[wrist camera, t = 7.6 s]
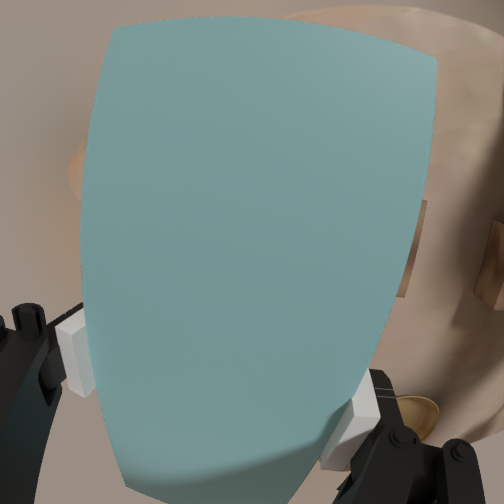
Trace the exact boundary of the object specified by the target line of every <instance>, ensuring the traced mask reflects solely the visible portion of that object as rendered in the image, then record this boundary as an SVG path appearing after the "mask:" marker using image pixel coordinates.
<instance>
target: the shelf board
mask: <svg viewBox="0 0 504 504" xmlns="http://www.w3.org/2000/svg"><path fill="white" fill-rule="evenodd" d="M436 78H437V58H435V57H432V56H430V55H427V54H425V53H422V52H420V51H417V50H414V49H412V48H409V47H406V46H403V45H400V44H397V43H394V42H391V41H388V40H384V39H381V38H378V37H374V36H370V35H367V34H363V33H359V32H355V31H350V30H346V29H341V28H336V27H331V26H326V25H320V24H314V23H308V22H301V21H293V20H284V19H273V18H256V17H198V18H183V19H172V20H163V21H155V22H148V23H142V24H136V25H130V26H125V27H120V28H115V29H114V30H113V33H112V36H111V39H110V42H109V45H108V49H107V52H106V55H105V59H104V63H103V66H102V70H101V74H100V78H99V82H98V86H97V91H96V95H95V100H94V105H93V110H92V115H91V121H90V127H89V133H88V140H87V147H86V155H85V163H84V173H83V185H82V199H81V226H80V252H81V278H82V279H81V280H82V295H83V306H84V316H85V325H86V332H87V340H88V346H89V353H90V359H91V364H92V370H93V375H94V380H95V385H96V389H97V394H98V398H99V402H100V407H101V411H102V414H103V418H104V422H105V425H106V429H107V432H108V436H109V439H110V442H111V445H112V448H113V452H114V455H115V457H116V460H117V463H118V466H119V468H120V471H121V474H122V476H123V479H124V482H125V484H126V487H129V488H131V489H133V490H135V491H138V492H140V493H142V494H145V495H147V496H150V497H152V498H154V499H157V500H160V501H162V502H165V503H168V504H287V503H288V502H289V500H290V499H291V498H292V496H293V495H294V494H295V492H296V491H297V489H298V488H299V487H300V485H301V484H302V482H303V481H304V480H305V478H306V477H307V475H308V474H309V472H310V471H311V469H312V468H313V466H314V465H315V463H316V461H317V460H318V458H319V457H320V455H321V452H322V450H323V449H324V447H325V445H326V444H327V442H328V440H329V438H330V437H331V435H332V433H333V432H334V430H335V428H336V426H337V424H338V423H339V421H340V419H341V417H342V415H343V413H344V412H345V410H346V408H347V406H348V404H349V402H350V400H351V398H352V397H354V395H355V393H356V391H357V389H358V387H359V385H360V383H361V381H362V378H363V376H364V374H365V372H366V370H367V368H368V365H369V363H370V361H371V359H372V356H373V354H374V352H375V349H376V347H377V345H378V342H379V340H380V337H381V335H382V332H383V330H384V327H385V325H386V322H387V319H388V317H389V314H390V311H391V309H392V306H393V303H394V300H395V297H396V294H397V291H398V288H399V285H400V282H401V279H402V276H403V273H404V269H405V266H406V263H407V259H408V256H409V252H410V249H411V245H412V241H413V237H414V233H415V229H416V225H417V221H418V217H419V212H420V208H421V203H422V198H423V193H424V188H425V183H426V177H427V171H428V165H429V159H430V151H431V144H432V135H433V126H434V115H435V101H436Z"/></svg>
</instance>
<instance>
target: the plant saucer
mask: <svg viewBox="0 0 504 504" xmlns="http://www.w3.org/2000/svg"><path fill="white" fill-rule="evenodd" d="M395 399H396V400H397V403H398V406H399V409H400V412H401V416H402V419H403V422H404V425H405V426H407V427H409V428H411V429H412V430H413V431H414V432H416V433H417V435H418V437H419V439H420V443H422V442H423V441H424V440H425V439H427V438H428V437H429V435H430V434H431V433H432V432H433V430H434V429H435V427H436V425H437V423H438V420H439V408H438V406H437V405H436V403H435V402H433V401H432V400H430V399H428V398H426V397H422V396H415V395H401V396H396V397H395Z"/></svg>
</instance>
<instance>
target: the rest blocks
mask: <svg viewBox="0 0 504 504" xmlns="http://www.w3.org/2000/svg"><path fill="white" fill-rule="evenodd" d="M426 205H427V201H426V200H422V203H421V208H420V212H419V217H418V221H417V225H416V229H415V233H414V237H413V241H412V245H411V249H410V252H409V256H408V259H407V263H406V266H405V269H404V273H403V276H402V279H401V282H400V285H399V288H398V291H397V294H396V297H402V298H404V297H405V294H406V290H407V287H408V284H409V280H410V276H411V273H412V269H413V265H414V261H415V257H416V253H417V249H418V245H419V240H420V236H421V231H422V226H423V221H424V216H425V210H426ZM474 293H475V294H476V295H477V296H478V297H479V298H480V299H482V300H483V301H484V302H485V303H486V304H487V305H489V306H490V307H491V308H492V309H493V310H499V311H504V223H501V222H497V221H494V220H492V226H491V231H490V235H489V240H488V244H487V248H486V252H485V256H484V260H483V264H482V268H481V271H480V275H479V278H478V281H477V284H476V288H475V291H474Z"/></svg>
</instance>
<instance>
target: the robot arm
mask: <svg viewBox="0 0 504 504" xmlns="http://www.w3.org/2000/svg"><path fill="white" fill-rule="evenodd" d="M12 315H13V319H14V324H15V328H16V331H15V330H12V329H8V328H6V327H5V323H4V319H3V317H2V316H1V315H0V504H34V499H35V493H36V488H37V482H38V477H39V473H40V468H41V463H42V459H43V455H44V451H45V447H46V443H47V440H48V436H49V433H50V429H51V425H52V422H53V419H54V416H55V412H56V409H57V406H58V403H59V400H60V397H61V394H62V386H61V382H62V381H63V380H64V379H65V378H67V382H68V385H69V389H70V390H72V391H73V392H75V393H77V394H79V395H81V396H82V397H84V398H86V397H87V396H88V395H89V394H90V392H92V391H93V390H94V388H95V387H96V385H95V380H94V375H93V370H92V364H91V359H90V353H89V346H88V340H87V332H86V325H85V316H84V306H83V302H82V303H80V304H78V305H77V306H75V307H73V308H72V309H70V310H69V311H67V312H66V314H63V315H61V316H59V317H58V318H56V319H55V320H53V321H52V322H50V323H49V324H48V325H46V320H45V314H44V310H43V308H42V307H41V306H40V305H38V304H35V303H24V304H20V305H18V306H15V307H14V308H13V309H12ZM395 397H396V396H395V393H394V391H393V387H392V384H391V381H390V379H389V378H388V377H387V375H386V374H385V373H384V372H383V371H382V370H375V369H369V368H367V370H366V372H365V374H364V376H363V378H362V381H361V383H360V385H359V387H358V389H357V391H356V393H355V395H354V397H352V398H351V400H350V402H349V404H348V406H347V408H346V410H345V412H344V413H343V415H342V417H341V419H340V421H339V423H338V424H337V426H336V428H335V430H334V432H333V433H332V435H331V437H330V438H329V440H328V442H327V444H326V445H325V447H324V449H323V450H322V452H321V469H322V470H335V471H344V469H345V468H346V467H347V465H348V464H349V463H350V465H351V474H349V476H348V477H347V478H346V479H345V480H344V482H343V483H342V484H341V485H340V486H339V487H338V488H337V490H339V492H338V495H337V496H336V498H335V500H334V501H333V503H332V504H485V497H484V490H483V485H482V479H481V474H480V469H479V465H478V460H477V456H476V453H475V451H474V448H473V447H472V446H471V445H470V444H469V443H468V442H466V441H464V440H462V439H457V438H456V439H450V440H449V441H447V442H446V443H445V444H444V445H443V447H442V448H439V447H434V446H430V445H426V444H423V443H420V439H419V437H418V435H417V433H416V432H414V431H413V430H412V429H411V428H409V427H407V426H405V425H404V422H403V419H402V416H401V412H400V409H399V406H398V403H397V400H396V399H395Z"/></svg>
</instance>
